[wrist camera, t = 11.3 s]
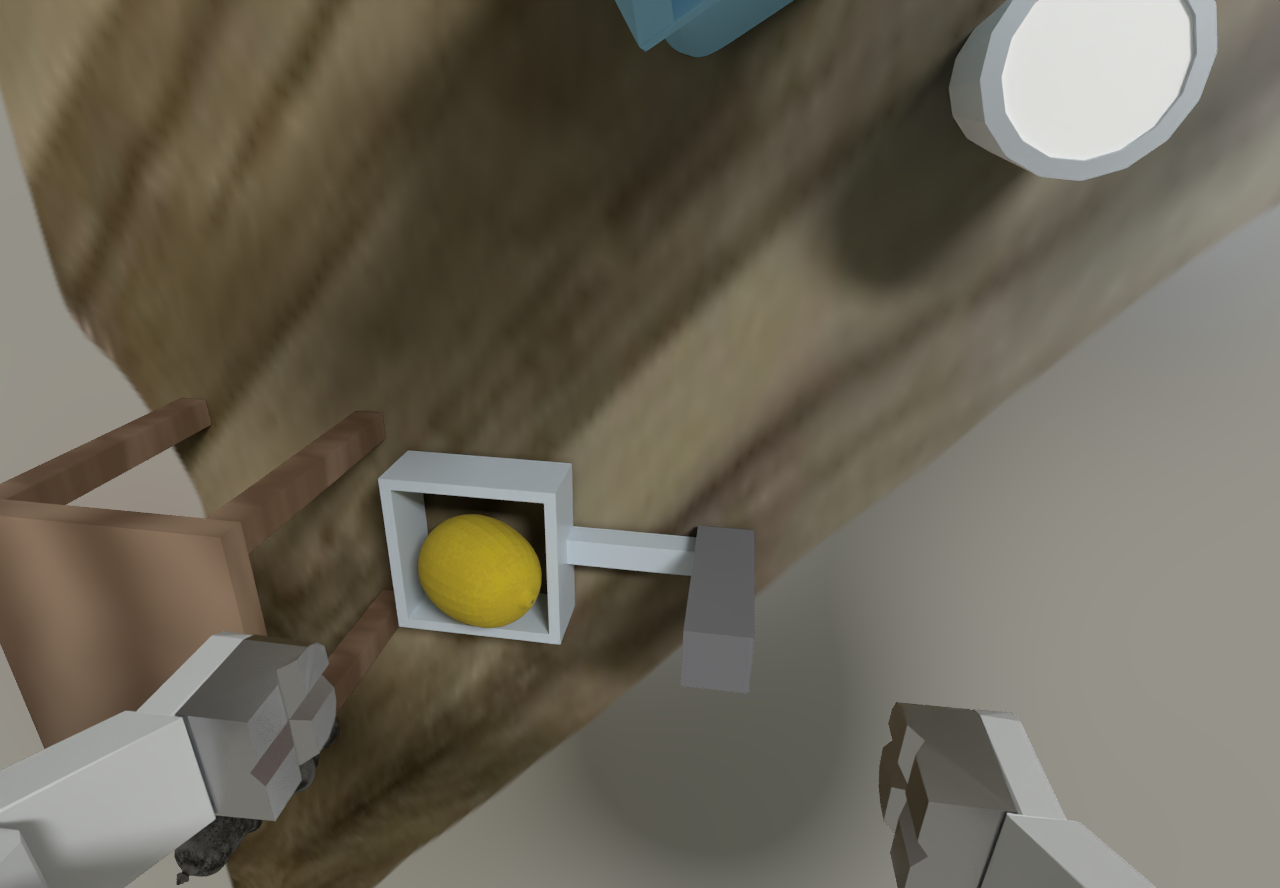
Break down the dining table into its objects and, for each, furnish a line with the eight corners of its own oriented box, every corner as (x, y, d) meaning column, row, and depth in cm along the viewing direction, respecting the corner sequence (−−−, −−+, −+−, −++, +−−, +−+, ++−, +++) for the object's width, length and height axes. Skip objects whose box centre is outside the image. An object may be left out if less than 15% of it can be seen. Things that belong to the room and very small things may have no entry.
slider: (424, 590, 44) (348, 697, 35) (407, 450, 40) (318, 534, 32) (745, 623, 41) (743, 746, 33) (759, 478, 37) (760, 576, 29)
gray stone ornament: (270, 673, 49) (131, 830, 38) (351, 707, 49) (236, 874, 38) (256, 730, 51) (122, 894, 40) (333, 763, 51) (220, 935, 40)
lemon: (396, 604, 40) (495, 674, 36) (380, 522, 37) (485, 588, 33) (473, 554, 44) (572, 612, 40) (464, 477, 41) (568, 531, 37)
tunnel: (230, 592, 46) (47, 755, 34) (181, 398, 41) (-56, 510, 29) (409, 612, 45) (283, 789, 33) (382, 412, 39) (220, 537, 27)
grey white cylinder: (1011, 205, 31) (1077, 225, 25) (896, 94, 30) (934, 85, 24) (1156, 63, 28) (1272, 45, 22) (1035, -65, 27) (1120, -123, 21)
